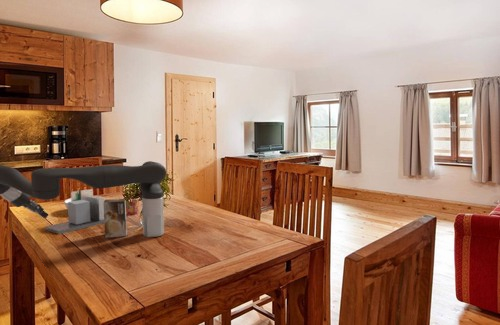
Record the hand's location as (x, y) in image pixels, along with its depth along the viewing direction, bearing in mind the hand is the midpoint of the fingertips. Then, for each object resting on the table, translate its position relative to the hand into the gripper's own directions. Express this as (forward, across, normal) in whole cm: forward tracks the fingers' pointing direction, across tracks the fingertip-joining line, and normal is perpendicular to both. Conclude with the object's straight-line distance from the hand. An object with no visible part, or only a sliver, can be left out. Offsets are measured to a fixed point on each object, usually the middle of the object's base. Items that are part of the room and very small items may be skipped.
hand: (46, 216), depth 159 cm
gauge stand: (+15, 0, +4) cm, 15 cm away
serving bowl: (+29, -25, +18) cm, 43 cm away
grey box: (+15, 0, +7) cm, 16 cm away
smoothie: (+38, +1, +26) cm, 46 cm away
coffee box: (+17, +28, +6) cm, 33 cm away
